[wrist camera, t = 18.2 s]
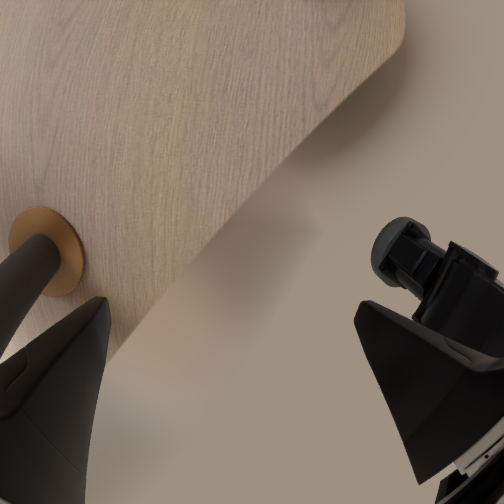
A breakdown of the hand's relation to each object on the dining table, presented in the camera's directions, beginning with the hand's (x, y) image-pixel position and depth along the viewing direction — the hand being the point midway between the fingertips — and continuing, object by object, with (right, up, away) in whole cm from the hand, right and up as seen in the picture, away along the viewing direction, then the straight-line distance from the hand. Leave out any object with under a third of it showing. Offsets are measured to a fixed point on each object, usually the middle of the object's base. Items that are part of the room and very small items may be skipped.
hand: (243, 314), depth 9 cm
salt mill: (-18, +2, +9) cm, 20 cm away
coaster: (-18, +2, +10) cm, 20 cm away
